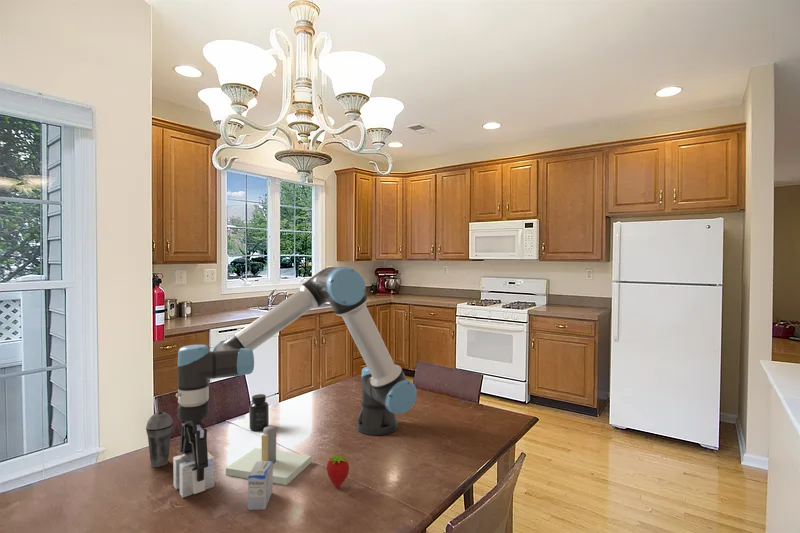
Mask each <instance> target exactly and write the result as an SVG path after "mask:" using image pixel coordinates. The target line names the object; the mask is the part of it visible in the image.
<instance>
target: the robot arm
mask: <svg viewBox="0 0 800 533" xmlns="http://www.w3.org/2000/svg"><path fill="white" fill-rule="evenodd" d="M366 287H367V286H366V282H365V280H364V277H363V275H362V274H361V273H360V272H359V271H358V270H356V269H354V268H351V267H348V266H339V267H338V266H337V267H335V266H330V267H326V268H324V269H322V270H320V271H319V272H317V273H316V274H314V275H313V276H311V277H310V278H309V279H307V280H306V281H304V282H303V283H302V284H300V286H299V290H297V291H296V292H294V293H292V295H290V296H288V297H287V298H286V299H283V301H281V302H280V303H278V304H277V305H276V306H273V307H272V308H270V310H268V311H266V312H265V313H264V314H262V315H261V316H260V317H258V318H256V319H255V320H254V321H252V322H251V323H249V324H248V325H246V326H244V328H242V329H241V330H239V331H237V332H236V333H235V334H233V335H232V336H230V337H229V338H227V339H224V340H221V341H219V342H217V343H216V344H215V345H214V347H213V350H212V351H210V350H209V347H208V345H206V344H190V345H184V346H182V347H180V348H179V350H178V351H177V393H176V394H175V397H176V398H177V404H178V405H177V419H178V420H179V421H180V427H181V428H180V429H181V430H180V445H179V446H180V448H179V451H180V453H181V455H182V454H186V453H189V452H193V458H194V466H195V468H193V469H192V471H193V493H194V494H193V495H196V494H199V493H202V492H204V491H206V490H205V468H206V467H208V453H207V452H208V441H207V435H208V429H207V428H204V423H203V421H202V420H203V419H204V418H206V417H208V415H209V401H208V400H209V395H210V394H209V393H210V392H209V390H210V389H209V380H214V379H222V378H230V377H241V376H245V375H251V374H252V373H253V372H254V367H255V356H254V350H256V349H257V348H258V347H260V346H261V345H263V344H264V343H265V342H267V341H268V340H269V339H271V338H272V337H273V336H275V335H276V334H278V333H279V332H280V331H282V330H284V329H285V328H286V327H288V326H289V325H290V324H292V323H293V322H295V321H296V320H297V319H299V318H300V317H302V316H303V315H305V314H306V313H308V312H309V311H311V310H312V309H318V308H320V307H321V306H322V305H324V304H327V303H329V304H330V306H331V308H332V310H333V312H334V314H335V315H336V316H339V317H341V318H342V319H343V322H344V324H345V325H346V327H347V329H348V332H349V333H350V335H351V338H352V340H353V341H354V343H355V345H356V347H357V350H358V351H359V353H360V355H361V357H362V359H363V361H364V363H365V365H366V366H364V367H363V368H362V369H361V375H360V376H361V377H360V378H361V379H360V382H361V383H360V384H361V408H360V411H359V414H358V417H357V421H356V429H357V431H358V432H359V433H361V434H364V435H367V436H368V435H369V436H383V435H388V434H392V433H394V432H395V431H397V430H398V419H397V416H396V415H402V414H405V413H407V412H409V411H410V410H411V409H412V407H413V406H414V404H415V403H416V399H417V395H418V394H417V393H418V392H417V387H416V386H415V384H414V383H413V382H412V381H411V380H409V379H407V377H406V375H405V372H404V371H403V369H402V367H401V366H400V365H398V364H395V362H394V360H393V358H392V356H391V354H390V352H389V349H388V348H387V346H386V343H385V342H384V340H383V338H382V336H381V333H380V332H379V329H378V328H377V325H376V323H375V322H374V319H373V317H372V315H371V312H370V311H369V308H368V306H367V302H368V299H369V298H368V297H367V293H366Z"/></svg>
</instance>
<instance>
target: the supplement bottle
mask: <svg viewBox="0 0 800 533" xmlns="http://www.w3.org/2000/svg"><path fill="white" fill-rule="evenodd" d="M251 402H252V403H250V405H249V408H248V409H249V410H248V411H249V413H248V414H249V429H250V431H252V432H261V431H263V429H264V428H265V427H268V426H270V424H269V423H270V420H269V419H270V417H269V416H270V414H269V412H270V410H269V406H270V404H269V403H268V402H267V398H266V394H263V393H260V394H259V393H258V394H254V395H252V396H251Z"/></svg>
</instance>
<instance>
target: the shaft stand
mask: <svg viewBox="0 0 800 533" xmlns="http://www.w3.org/2000/svg"><path fill="white" fill-rule="evenodd" d="M262 431H263V434H262V435H261V448H259V447H255V448H253V449H252V450H250V451H248V452H247V453H246V454H244V455H243V456H241V457H240V458H239V459H237V460H236V461H234V462H232V463H231V464H229V465H228V466H227V467H225V476H230V477H235V478H241V479H247V480H248V476H249V474H250V473H251V471H252V469H253V467H254V465H255V463H256V462H259V461H272V462H273V484H276V485H283V486H288V485H289V484H290V483H291V482H292V481H293V480H294V479H295V478H297V476H298V475H299V474H301V473H302V472H303V471H304V470H305V469H306V468H307V467H308V466H309V465H310V464H312V455H307V454H300V453H293V452H288V451H287V452H286V451H280V450H277V427H276V426H274V425H269V426H268V427H265V428H264V429H263V430H262Z"/></svg>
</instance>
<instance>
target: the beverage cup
mask: <svg viewBox="0 0 800 533" xmlns="http://www.w3.org/2000/svg"><path fill="white" fill-rule="evenodd" d="M154 401H155V410H156V413H154V414H152V415H151V416H150V417H149V419H148V420H147V422H146V426H145V430H146V436H147V442H148V452H149V461H150V467H152V468H160V466H161V467H163V466H166V465H168V463H169V458H170V448H171V447H170V446H171V436H172V430H173V426H174V423H173V418H172V416H171V415H170V414H168V413H167V412H164V411H160V412H159V404H158V398H155V399H154Z"/></svg>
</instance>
